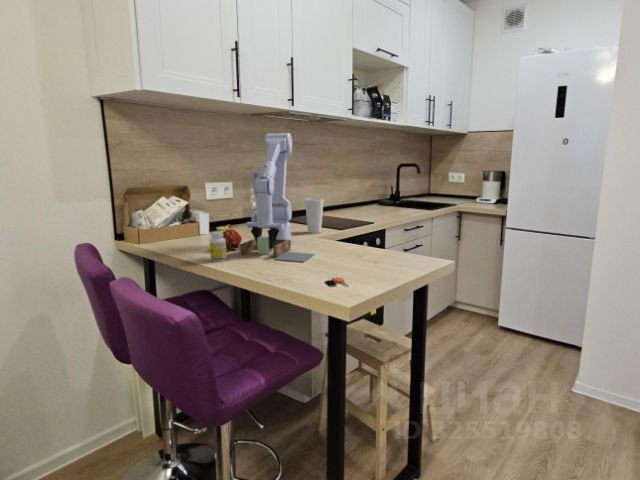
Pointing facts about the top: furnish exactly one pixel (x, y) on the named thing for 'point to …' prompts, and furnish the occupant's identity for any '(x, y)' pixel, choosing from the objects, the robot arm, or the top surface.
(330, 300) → the top surface
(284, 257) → the mat
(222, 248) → the supplement bottle
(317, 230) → the cup
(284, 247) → the wooden u-shaped shelf
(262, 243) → the block
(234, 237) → the dragon fruit
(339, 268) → the top surface
